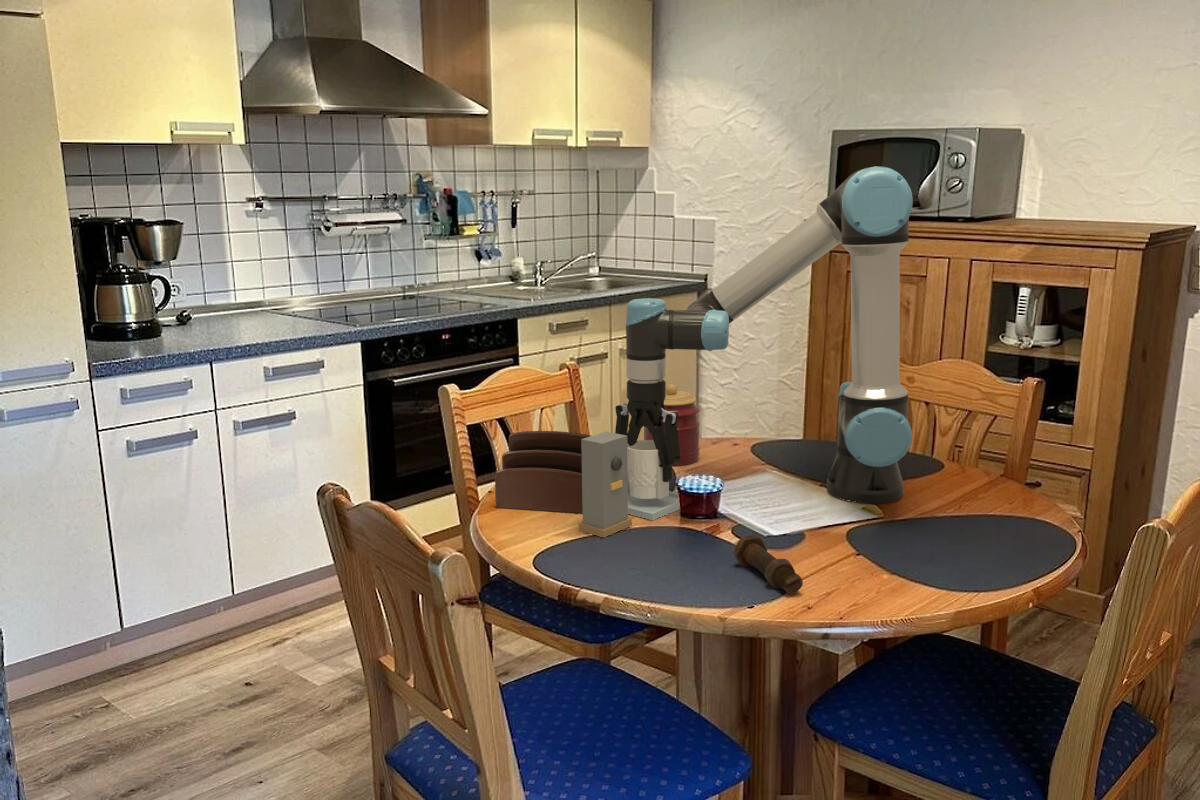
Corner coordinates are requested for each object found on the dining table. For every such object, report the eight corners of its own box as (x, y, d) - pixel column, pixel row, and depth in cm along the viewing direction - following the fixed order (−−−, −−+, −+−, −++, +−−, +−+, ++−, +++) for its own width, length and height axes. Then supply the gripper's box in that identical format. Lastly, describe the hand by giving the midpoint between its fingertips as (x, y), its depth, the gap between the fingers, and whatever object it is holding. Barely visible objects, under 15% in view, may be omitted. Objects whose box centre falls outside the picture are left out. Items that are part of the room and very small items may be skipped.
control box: (632, 526, 185) (631, 435, 182) (604, 538, 180) (603, 444, 176) (607, 519, 189) (606, 430, 186) (579, 531, 183) (577, 439, 180)
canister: (662, 448, 239) (662, 376, 235) (709, 456, 231) (710, 382, 228) (632, 461, 228) (631, 385, 225) (680, 470, 221) (681, 392, 217)
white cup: (624, 499, 194) (623, 449, 192) (629, 487, 201) (629, 439, 199) (664, 501, 193) (664, 451, 190) (668, 488, 200) (668, 440, 198)
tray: (692, 503, 198) (692, 496, 198) (652, 520, 188) (652, 513, 188) (640, 490, 207) (640, 484, 206) (599, 507, 197) (599, 500, 197)
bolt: (789, 608, 154) (743, 570, 168) (814, 589, 155) (766, 553, 169) (774, 581, 152) (728, 545, 166) (800, 561, 153) (752, 527, 166)
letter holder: (511, 493, 207) (509, 427, 204) (604, 499, 202) (603, 432, 199) (495, 508, 197) (492, 440, 194) (592, 515, 192) (591, 445, 189)
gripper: (700, 382, 188) (699, 498, 193) (617, 370, 201) (618, 479, 206) (677, 389, 183) (677, 507, 188) (593, 376, 196) (595, 487, 201)
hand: (646, 492), depth 197 cm, fingers closed on white cup, 7 cm apart
